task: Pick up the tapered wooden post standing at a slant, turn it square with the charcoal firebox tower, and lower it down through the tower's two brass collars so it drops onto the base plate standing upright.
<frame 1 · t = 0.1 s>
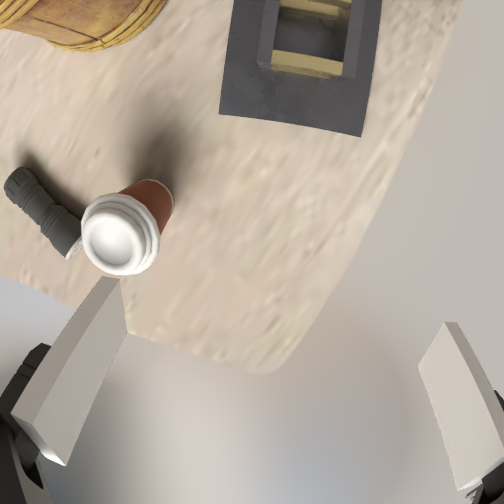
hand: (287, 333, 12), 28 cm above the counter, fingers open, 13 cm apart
flashlight: (56, 204, 41), on the counter
firebox: (303, 40, 29), on the counter
coffee cup: (151, 201, 40), on the counter
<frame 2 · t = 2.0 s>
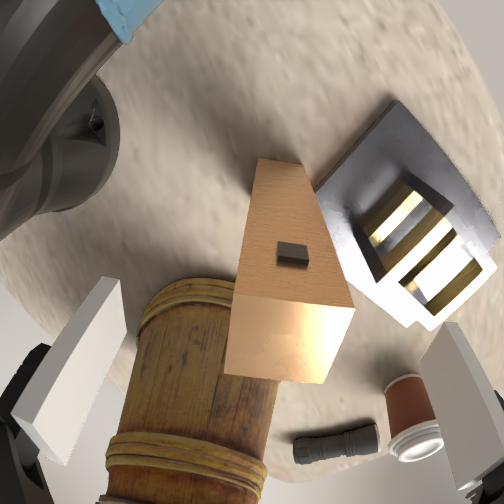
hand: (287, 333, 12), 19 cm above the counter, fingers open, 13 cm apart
flashlight: (336, 432, 49), on the counter
firebox: (406, 227, 30), on the counter
tankard: (201, 345, 39), on the counter
coffee cup: (403, 385, 42), on the counter
tapered wooden post: (277, 182, 29), on the counter
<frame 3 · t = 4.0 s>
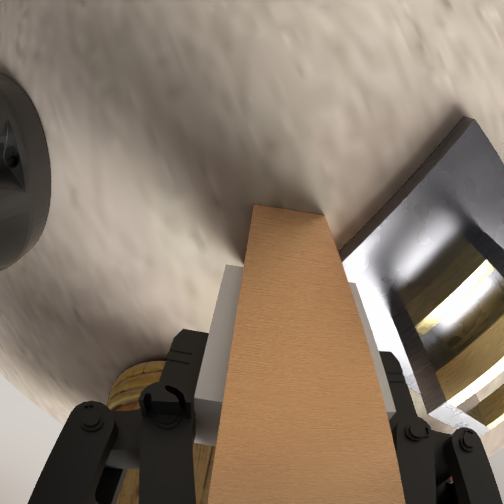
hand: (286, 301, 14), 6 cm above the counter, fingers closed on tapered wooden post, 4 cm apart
firebox: (458, 296, 20), on the counter
tankard: (185, 421, 29), on the counter
tapered wooden post: (283, 241, 19), on the counter, touching gripper
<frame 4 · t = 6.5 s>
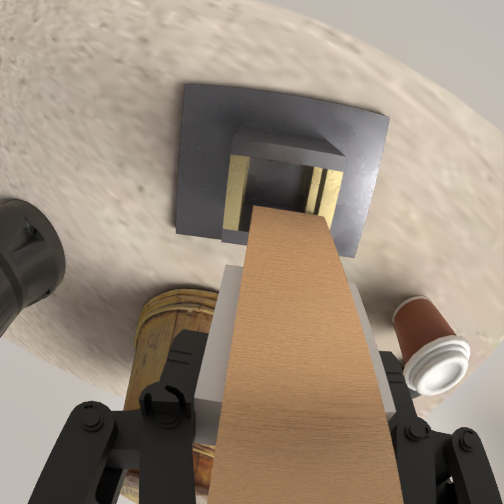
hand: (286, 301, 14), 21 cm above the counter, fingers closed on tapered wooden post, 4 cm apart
firebox: (278, 171, 32), on the counter
tankard: (199, 349, 45), on the counter
coffee cup: (412, 313, 40), on the counter
tapered wooden post: (283, 242, 19), point 15 cm above the counter, touching gripper
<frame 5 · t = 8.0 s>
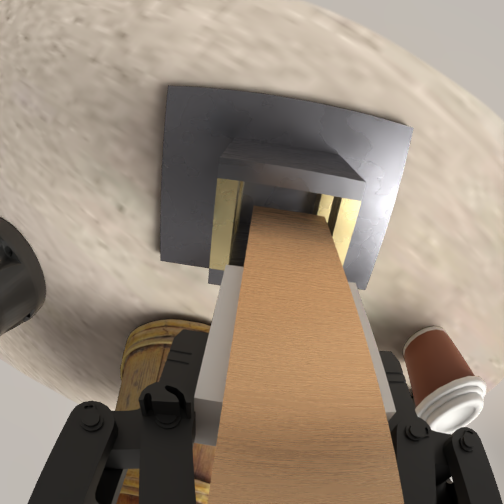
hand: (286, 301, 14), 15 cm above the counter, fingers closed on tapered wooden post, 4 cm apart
firebox: (279, 190, 27), on the counter
tankard: (191, 379, 40), on the counter
coffee cup: (424, 343, 35), on the counter
tapered wooden post: (283, 242, 19), point 10 cm above the counter, touching gripper
when the fingers open (11 cm above the counter, at t = 9.1 s): tapered wooden post drops 4 cm, resting on firebox.
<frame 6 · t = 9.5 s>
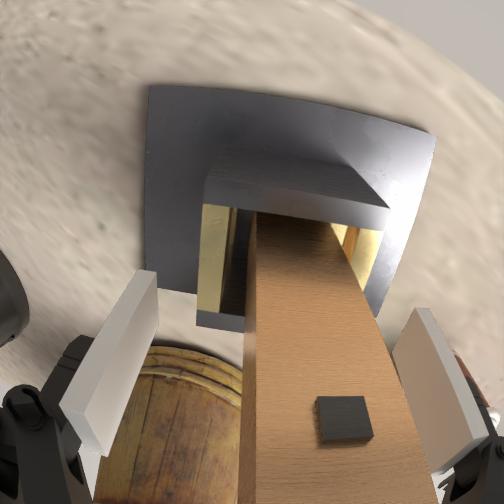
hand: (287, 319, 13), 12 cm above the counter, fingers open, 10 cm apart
firebox: (281, 208, 23), on the counter
tankard: (185, 403, 36), on the counter
coffee cup: (435, 367, 32), on the counter
tapered wooden post: (280, 215, 22), point 1 cm above the counter, touching firebox
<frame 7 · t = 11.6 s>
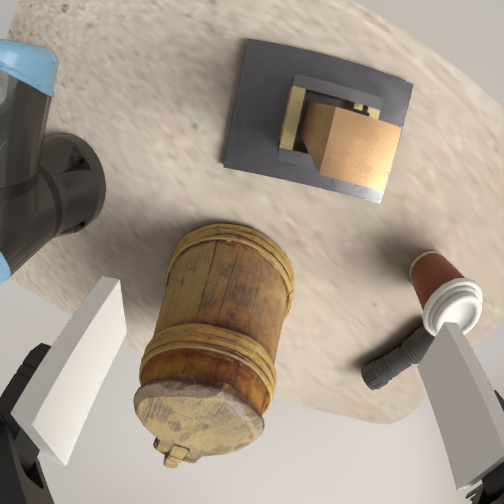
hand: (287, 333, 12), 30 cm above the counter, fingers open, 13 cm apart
flashlight: (399, 345, 51), on the counter
firebox: (319, 120, 35), on the counter
tankard: (225, 292, 48), on the counter
coffee cup: (427, 268, 43), on the counter
tapered wooden post: (319, 121, 34), point 1 cm above the counter, touching firebox
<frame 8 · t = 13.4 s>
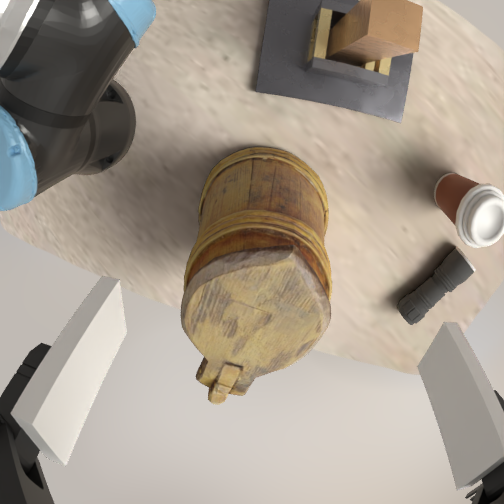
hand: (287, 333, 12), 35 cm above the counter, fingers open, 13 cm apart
flashlight: (430, 277, 51), on the counter
firebox: (339, 50, 35), on the counter
tankard: (258, 223, 48), on the counter
coffee cup: (449, 191, 43), on the counter
tapered wooden post: (340, 49, 34), point 1 cm above the counter, touching firebox
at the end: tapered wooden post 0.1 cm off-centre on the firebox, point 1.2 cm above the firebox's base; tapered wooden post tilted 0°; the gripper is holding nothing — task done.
